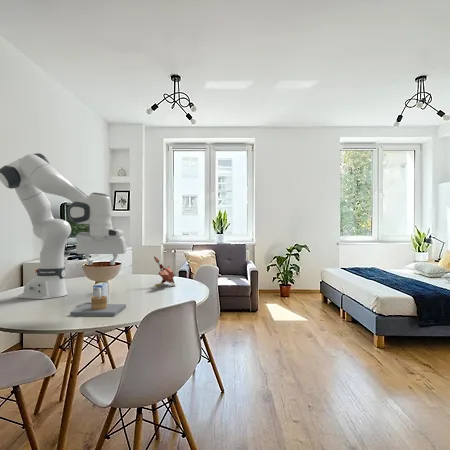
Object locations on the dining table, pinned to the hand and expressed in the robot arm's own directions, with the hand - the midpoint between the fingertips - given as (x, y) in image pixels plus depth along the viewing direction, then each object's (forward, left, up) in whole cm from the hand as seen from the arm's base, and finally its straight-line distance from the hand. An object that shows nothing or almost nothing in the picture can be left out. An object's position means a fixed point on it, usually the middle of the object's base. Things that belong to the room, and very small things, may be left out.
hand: (101, 264), depth 150 cm
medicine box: (-7, +16, -20) cm, 26 cm away
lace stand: (-1, -1, -19) cm, 19 cm away
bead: (-1, -1, -18) cm, 18 cm away
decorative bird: (+14, +58, -20) cm, 63 cm away
